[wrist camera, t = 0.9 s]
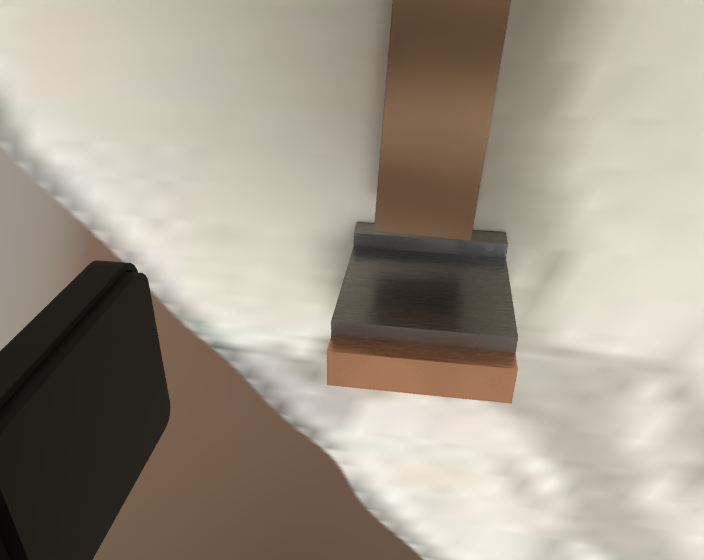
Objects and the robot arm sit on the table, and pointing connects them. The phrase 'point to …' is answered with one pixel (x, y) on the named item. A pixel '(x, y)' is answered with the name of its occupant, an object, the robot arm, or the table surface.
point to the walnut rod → (438, 114)
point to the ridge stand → (425, 317)
